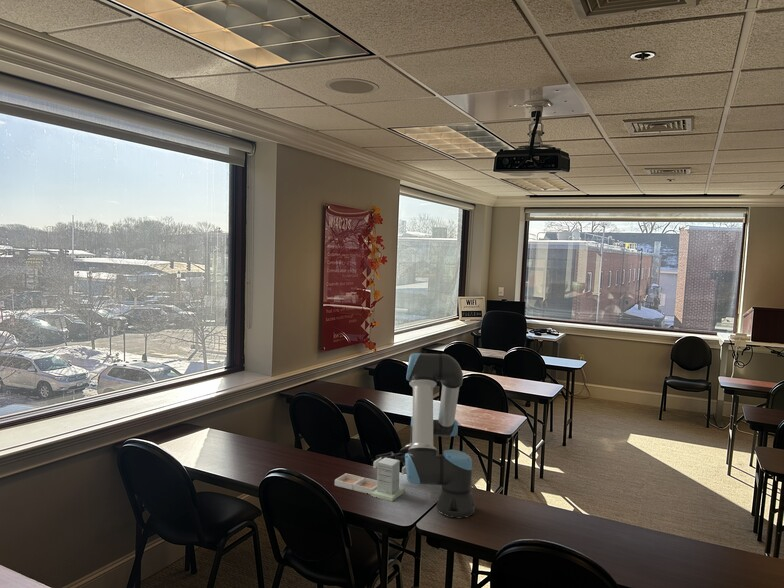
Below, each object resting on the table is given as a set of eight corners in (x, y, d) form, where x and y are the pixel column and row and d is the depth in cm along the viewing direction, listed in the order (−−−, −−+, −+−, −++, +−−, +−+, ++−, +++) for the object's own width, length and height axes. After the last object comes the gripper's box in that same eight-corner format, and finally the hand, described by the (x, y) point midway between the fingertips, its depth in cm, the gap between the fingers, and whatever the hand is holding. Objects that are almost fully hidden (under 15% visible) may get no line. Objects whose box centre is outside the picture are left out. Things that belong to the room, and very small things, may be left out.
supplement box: (384, 485, 241) (385, 456, 240) (399, 488, 238) (400, 460, 237) (376, 491, 234) (377, 462, 234) (391, 495, 231) (392, 465, 230)
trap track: (404, 491, 239) (404, 485, 239) (392, 501, 228) (392, 495, 228) (347, 477, 252) (347, 472, 252) (332, 486, 241) (333, 481, 241)
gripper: (434, 467, 249) (414, 482, 230) (384, 456, 260) (362, 471, 241) (434, 450, 248) (415, 465, 229) (385, 441, 260) (363, 454, 241)
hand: (388, 468), depth 235 cm, fingers open, 13 cm apart
